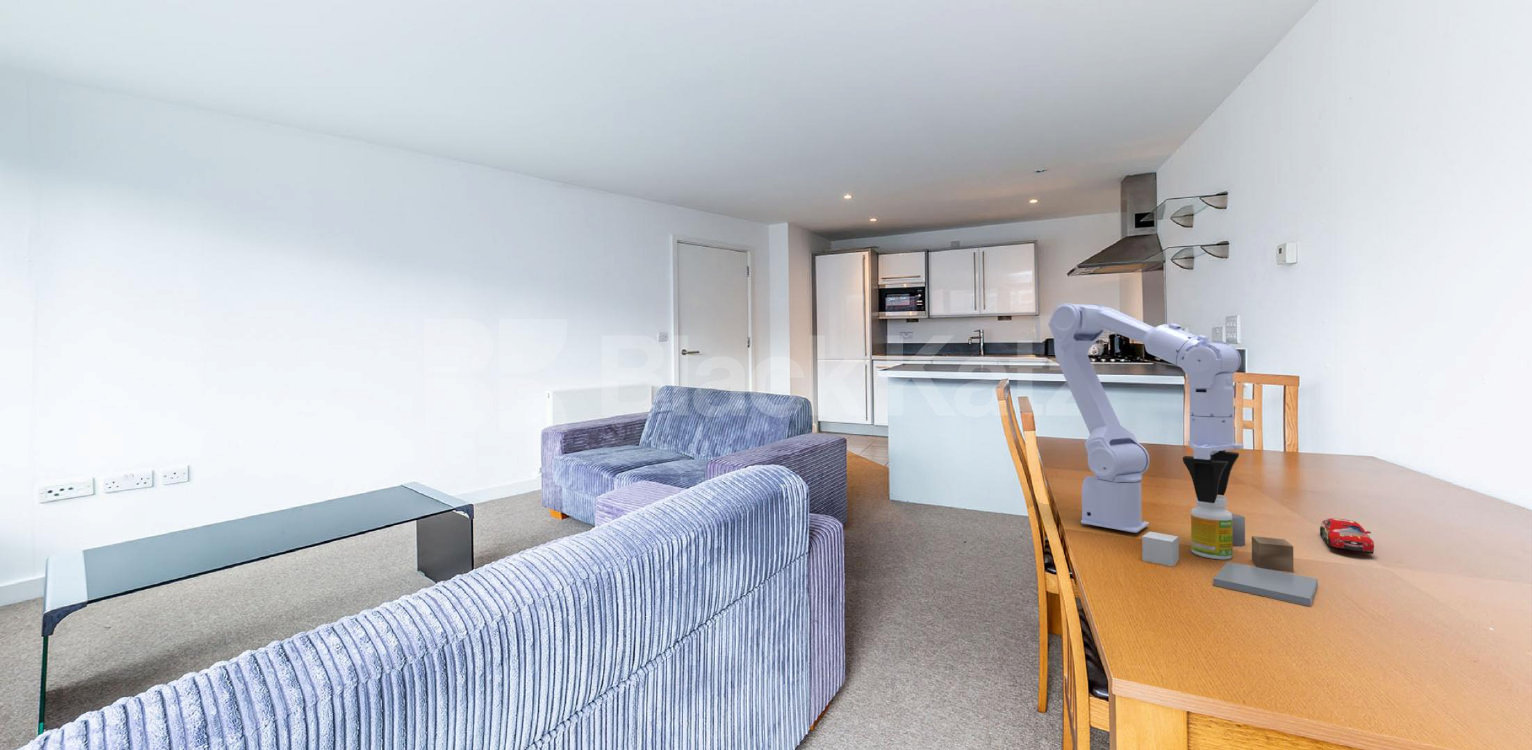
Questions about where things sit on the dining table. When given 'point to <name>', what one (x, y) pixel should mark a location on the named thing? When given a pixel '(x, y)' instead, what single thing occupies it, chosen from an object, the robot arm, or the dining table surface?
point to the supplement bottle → (1212, 530)
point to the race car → (1346, 535)
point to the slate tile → (1267, 583)
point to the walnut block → (1272, 554)
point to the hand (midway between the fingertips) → (1211, 498)
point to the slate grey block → (1238, 530)
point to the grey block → (1160, 548)
